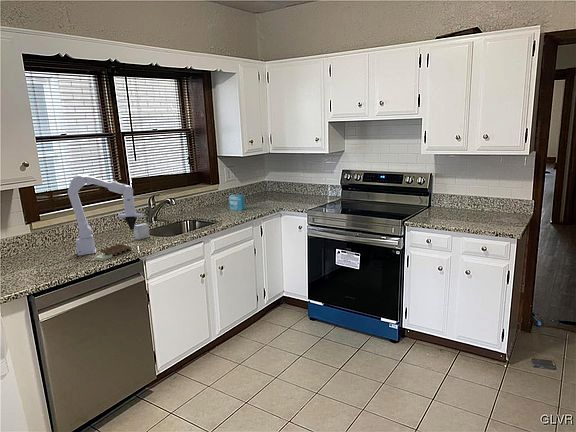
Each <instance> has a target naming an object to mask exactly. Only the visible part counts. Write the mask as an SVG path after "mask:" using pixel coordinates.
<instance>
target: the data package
mask: <svg viewBox="0 0 576 432" xmlns="http://www.w3.org/2000/svg"><path fill="white" fill-rule="evenodd" d="M228 203H229V210H230V211H244V210H245V209H246V204H245V195H244V194H231V195H229V196H228Z"/></svg>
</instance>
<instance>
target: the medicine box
mask: <svg viewBox="0 0 576 432" xmlns="http://www.w3.org/2000/svg"><path fill="white" fill-rule="evenodd" d="M149 227H150V226H149V223H145V222H144V223H140V224H135V225H134V229H133V232H134V239H135V240H143V239H147V238H150V228H149Z"/></svg>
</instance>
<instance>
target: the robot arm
mask: <svg viewBox="0 0 576 432" xmlns="http://www.w3.org/2000/svg"><path fill="white" fill-rule="evenodd" d="M85 184H86V186H89V185H95V186H100V187H104V188H107V189H108V191H109V192H112V193H116V194H120V195H123V208H124V213H118V214H117V217H118V219H119V218H120V219H121V218H124V221H125V222H126V223H127V225H128V227H129V229H130V231H134V226H135V225H136V221H137V219H138V218H144V214H143V213H139V212H138V213H137V212H136V204H135V198H134V188H133V187H132V186H131V185H128V184H126V183H120V182H118V181H117V180H111V181H106V180H103V179H101V178H97V177H95V176H91V175H86V174H85V175H84V174H81V173H78V174H76V175H75V176H74V177H73V178H72V179H71V181H70V183H69V186H68V189H67V195H68V197H69V198H68V199H69V200H70V204H71V207H72V210H73V213H74V215H75V219H76V222H77V225H78V226H77V227H78V237H79V238H75V243H76V253H77V256H84V255H85V256H86V255H90V254H96V253H97V248H96V245H95V239H94V234H92V232H93V228H92V226H91V225H90V224H89V221H88V219H87V217H86V214H85V210H84V208H83V205H82V202H81V199H80V196H79V192H80V189H82V188H83V187H84V186H85Z"/></svg>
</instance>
